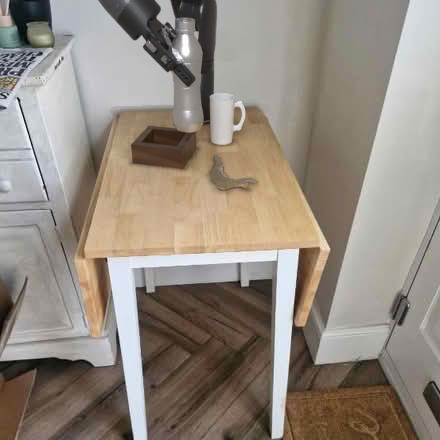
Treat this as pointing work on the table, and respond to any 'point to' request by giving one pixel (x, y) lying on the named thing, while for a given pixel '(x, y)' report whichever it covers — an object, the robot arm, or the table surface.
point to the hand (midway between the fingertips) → (195, 77)
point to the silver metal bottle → (183, 96)
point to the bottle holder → (163, 147)
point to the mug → (224, 117)
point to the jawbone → (223, 181)
